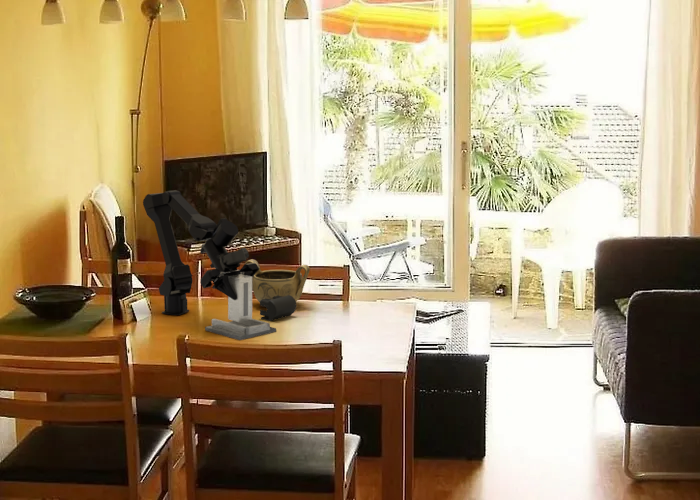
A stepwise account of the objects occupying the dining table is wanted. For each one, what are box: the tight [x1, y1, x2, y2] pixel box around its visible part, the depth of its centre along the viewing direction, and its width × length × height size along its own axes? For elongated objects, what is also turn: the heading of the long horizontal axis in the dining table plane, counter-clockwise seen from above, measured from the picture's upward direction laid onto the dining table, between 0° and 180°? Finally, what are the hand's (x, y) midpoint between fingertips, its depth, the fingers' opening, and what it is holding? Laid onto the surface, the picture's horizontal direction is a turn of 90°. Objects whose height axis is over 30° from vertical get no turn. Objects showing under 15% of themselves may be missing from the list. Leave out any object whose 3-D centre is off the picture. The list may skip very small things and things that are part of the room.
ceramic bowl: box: [244, 258, 311, 303], centre depth 334 cm, size 22×17×15 cm
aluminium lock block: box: [227, 274, 253, 322], centre depth 302 cm, size 5×5×13 cm
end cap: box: [259, 295, 297, 322], centre depth 319 cm, size 10×7×7 cm
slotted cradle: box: [204, 318, 277, 341], centre depth 303 cm, size 16×14×3 cm
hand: (242, 298), depth 301 cm, fingers closed on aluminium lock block, 5 cm apart
